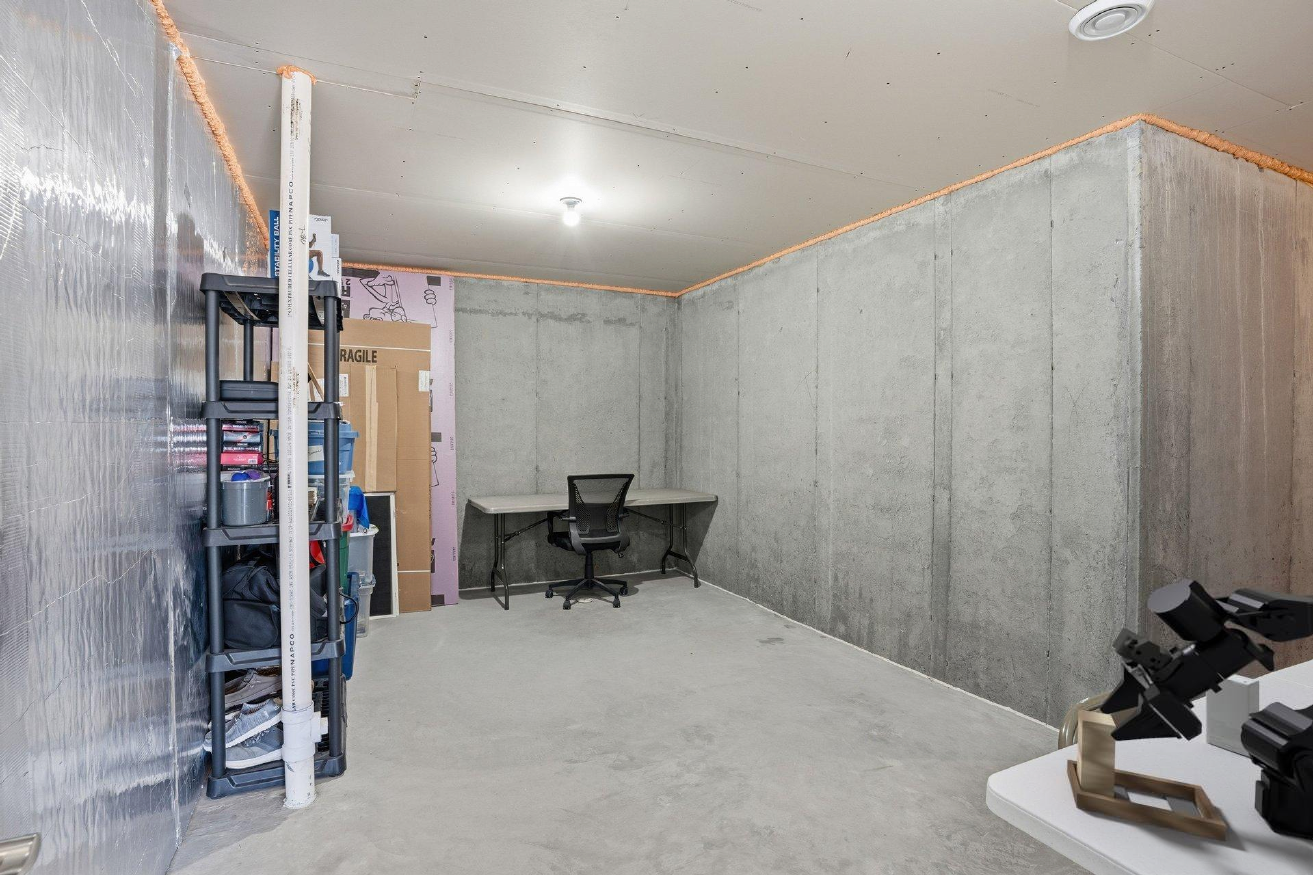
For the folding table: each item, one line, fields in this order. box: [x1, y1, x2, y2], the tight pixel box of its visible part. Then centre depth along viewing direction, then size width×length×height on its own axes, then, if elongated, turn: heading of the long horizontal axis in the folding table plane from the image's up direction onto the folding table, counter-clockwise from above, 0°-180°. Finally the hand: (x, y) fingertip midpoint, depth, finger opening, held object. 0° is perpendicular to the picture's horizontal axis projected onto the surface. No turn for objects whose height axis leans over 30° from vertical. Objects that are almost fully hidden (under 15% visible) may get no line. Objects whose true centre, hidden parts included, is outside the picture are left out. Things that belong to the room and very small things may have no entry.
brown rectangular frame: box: [1066, 759, 1227, 842], centre depth 94 cm, size 16×10×2 cm, turn 64°
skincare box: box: [1205, 673, 1260, 758], centre depth 111 cm, size 6×4×12 cm
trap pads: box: [1114, 784, 1202, 817], centre depth 93 cm, size 10×8×1 cm
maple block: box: [1076, 709, 1117, 798], centre depth 96 cm, size 4×4×11 cm
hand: (1107, 723), depth 95 cm, fingers open, 9 cm apart
